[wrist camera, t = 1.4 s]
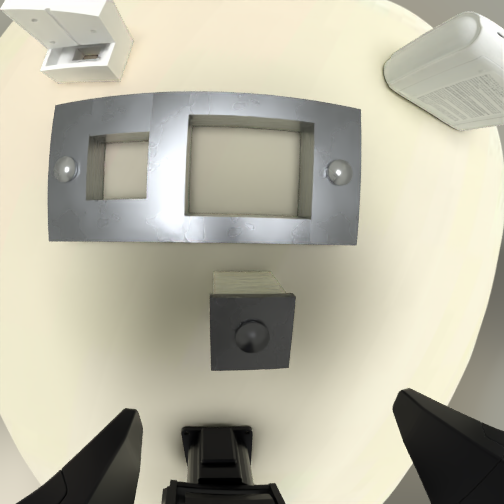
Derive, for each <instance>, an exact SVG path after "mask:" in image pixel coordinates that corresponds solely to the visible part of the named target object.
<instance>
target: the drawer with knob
mask: <svg viewBox="0 0 504 504" xmlns="http://www.w3.org/2000/svg"><path fill="white" fill-rule="evenodd" d="M295 299H296V297H295V295H294V294H293V293H286V292H285V291H284V290H283V288H282V287H281V285H280V284H279V283H278V281H277V280H276V279H275V277H274V276H273V275H272V273H271V272H260V271H214V288H213V294H210V342H211V371H225V370H259V369H278V368H289V359H290V350H291V341H292V331H293V321H294V310H295Z"/></svg>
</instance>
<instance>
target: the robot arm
mask: <svg viewBox="0 0 504 504" xmlns="http://www.w3.org/2000/svg"><path fill="white" fill-rule="evenodd" d="M393 413H394V416H395V419H396V422H397V425H398V427H399V430H400V433H401V436H402V439H403V442H404V444H405V446H406V449H407V451H408V453H409V455H410V457H411V459H412V461H413V464H414V466H415V468H416V470H417V472H418V475H419V477H420V479H421V481H422V484H423V486H424V488H425V490H426V492H427V495H428V497H429V499H430V502H431V504H504V431H502V430H499V429H496V428H494V427H491V426H489V425H487V424H484V423H481V422H480V421H478V420H475V419H473V418H471V417H468V416H467V415H464V414H462V413H460V412H458V411H456V410H454V409H452V408H449V407H447V406H445V405H443V404H441V403H439V402H437V401H435V400H433V399H431V398H429V397H427V396H425V395H423V394H421V393H419V392H417V391H415V390H413V389H410V388H407V389H404V390H401V391H400V392H399V393H398V395H397V397H396V400H395V402H394V404H393ZM246 431H248V432H246ZM181 434H182V440H183V445H184V451H185V457H186V462H187V466H188V474H187V482H178V481H177V480H171V481H170V486H168V487H167V488H165V489H163V494H162V504H285V502H284V500H283V498H282V496H281V494H280V492H279V490H278V488H277V486H276V484H275V483H270V484H267V485H254V483H253V478H252V472H251V467H250V465H251V452H252V436H253V432H252V428H251V427H214V428H208V427H184V428H182V433H181ZM142 435H143V427H142V423H141V419H140V416H139V413H138V411H137V410H136V409H129V408H125V409H123V410H122V411H121V412H120V413H119V414H118V415H117V416H116V417H115V418H114V419H113V420H112V421H111V422H110V423H109V424H108V425H107V426H106V427H105V428H104V429H103V430H102V431H101V432H100V433H99V434H98V435H97V436H96V437H94V438H93V439H92V440H91V441H90V442H89V443H88V444H87V445H86V446H85V447H84V448H83V449H82V450H81V451H80V452H79V453H78V454H77V455H76V456H75V457H73V458H72V459H71V460H70V461H69V462H68V463H67V464H66V465H65V466H64V467H63V468H62V470H59V471H58V472H57V473H56V474H55V475H54V476H53V477H52V478H51V479H49V480H48V481H47V482H46V483H45V484H44V485H42V486H41V487H40V488H38V489H37V490H35V491H34V492H33V493H31V494H30V495H28V496H27V497H25V498H24V499H22V500H21V501H19V502H18V503H16V504H134V500H135V494H136V489H137V483H138V478H139V472H140V462H141V447H142Z"/></svg>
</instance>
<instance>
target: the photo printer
mask: <svg viewBox="0 0 504 504" xmlns="http://www.w3.org/2000/svg"><path fill="white" fill-rule="evenodd" d="M384 76H385V79H386V82H387V83H388V84H389V87H390V88H391V89H392V90H394V91H395V92H397V93H398V94H399V95H401V96H403V97H404V98H406V99H408V100H410V101H411V102H413V103H414V104H416V105H418V106H419V107H421V108H423V109H424V110H426V111H427V112H429V113H431V114H432V115H434V116H436V117H437V118H438V119H440V120H442V121H443V122H445V123H446V124H448V125H450V126H451V127H453V128H455V129H457V130H461V131H465V130H471V129H477V128H484V127H491V126H499V125H504V29H502V28H501V27H500V26H498V25H497V24H496V23H494V22H492V21H491V20H489V19H487V18H486V17H484V16H482V15H480V14H478V13H475V12H471V11H470V12H463V13H460V14H458V15H457V16H454V17H453V18H451V19H449V20H447V21H445V22H444V23H442V24H440V25H438V26H437V27H435V28H433V29H431V30H430V31H428V32H426V33H425V34H423V35H421V36H420V37H418V38H416V39H415V40H413V41H412V42H410V43H408V44H407V45H405V46H404V47H402V48H401V49H399V50H398V51H396V52H395V53H394V54H393V55H392V56H391V59H389V60H388V61H387V62H386V63H385V65H384Z"/></svg>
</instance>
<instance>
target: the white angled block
mask: <svg viewBox="0 0 504 504" xmlns="http://www.w3.org/2000/svg"><path fill="white" fill-rule="evenodd" d="M0 10H1V11H2V12H4V13H5V14H6V15H7V16H8V17H10V18H11V19H12V20H13V21H15V22H16V23H17V24H18V25H19V26H21V27H22V28H23V29H24V30H26V31H27V32H28V33H29V34H30V35H32V36H33V37H34V38H35V39H36V40H38V41H39V42H40V43H41V44H42V45H44V46H45V47H46V48H47V49H48V52H47V54H46V57H45V59H44V62H43V64H42V67H41V70H40V71H41V72H42V73H43V74H45V75H46V76H48V77H49V78H51V79H52V80H54V81H55V82H57V83H58V84H60V83H74V82H103V81H119V82H120V81H121V78H122V75H123V72H124V69H125V66H126V63H127V60H128V57H129V54H130V51H131V48H132V45H133V43H134V40H133V38H132V36H131V34H130V33H129V31H128V29H127V27H126V25H125V23H124V21H123V19H122V17H121V15H120V13H119V11H118V9H117V7H116V5H115V3H114V1H113V0H5V2H4V3H3V5H2V7H1V9H0ZM98 54H99V55H98ZM84 55H98V58H97V59H87V60H83V58H84Z"/></svg>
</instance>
